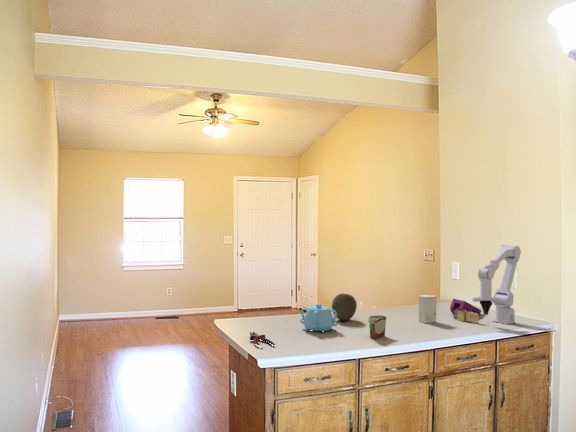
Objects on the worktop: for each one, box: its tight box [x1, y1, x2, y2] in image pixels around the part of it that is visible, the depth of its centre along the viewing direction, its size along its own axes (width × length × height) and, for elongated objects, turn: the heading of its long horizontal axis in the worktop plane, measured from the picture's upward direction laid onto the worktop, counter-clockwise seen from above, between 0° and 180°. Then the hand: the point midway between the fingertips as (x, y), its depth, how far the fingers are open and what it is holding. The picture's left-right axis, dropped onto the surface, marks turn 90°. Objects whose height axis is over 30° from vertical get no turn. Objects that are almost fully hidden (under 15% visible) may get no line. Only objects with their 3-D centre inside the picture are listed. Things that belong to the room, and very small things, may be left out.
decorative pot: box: [299, 303, 338, 332], centre depth 255 cm, size 16×16×14 cm
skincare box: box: [418, 294, 437, 324], centre depth 275 cm, size 8×6×15 cm
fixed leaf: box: [453, 310, 467, 321], centre depth 280 cm, size 7×2×6 cm, turn 35°
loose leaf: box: [457, 311, 480, 324], centre depth 276 cm, size 11×5×5 cm, turn 35°
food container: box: [367, 315, 387, 341], centre depth 241 cm, size 12×6×10 cm, turn 141°
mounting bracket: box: [449, 298, 482, 315], centre depth 295 cm, size 10×8×18 cm
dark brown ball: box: [331, 293, 357, 322], centre depth 277 cm, size 14×14×15 cm
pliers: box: [249, 331, 276, 345], centre depth 230 cm, size 3×9×22 cm
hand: (485, 314), depth 267 cm, fingers closed
